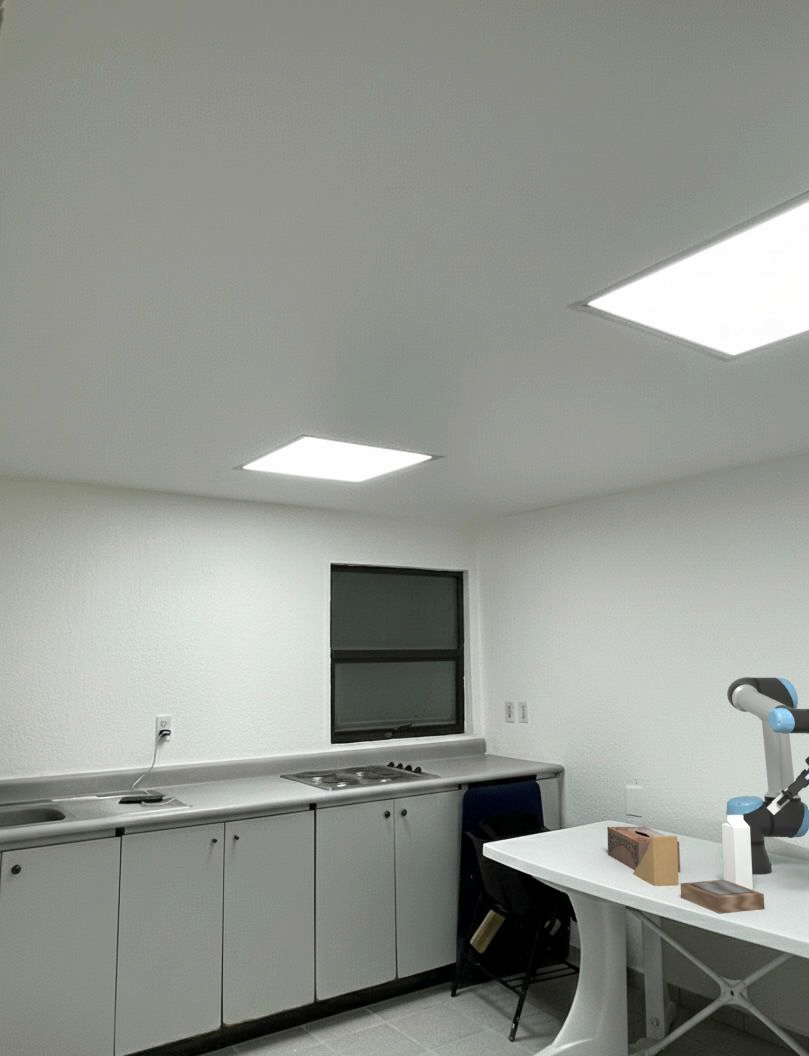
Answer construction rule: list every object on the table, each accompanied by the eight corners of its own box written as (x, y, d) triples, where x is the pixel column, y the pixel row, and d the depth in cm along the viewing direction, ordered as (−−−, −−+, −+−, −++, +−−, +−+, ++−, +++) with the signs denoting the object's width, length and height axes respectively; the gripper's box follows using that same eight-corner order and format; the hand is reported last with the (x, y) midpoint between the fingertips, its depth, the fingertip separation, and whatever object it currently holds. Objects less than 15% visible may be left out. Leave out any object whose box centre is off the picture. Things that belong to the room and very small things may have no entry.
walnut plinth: (724, 893, 244) (723, 878, 244) (764, 908, 229) (763, 892, 230) (681, 897, 238) (680, 882, 239) (719, 913, 223) (718, 897, 224)
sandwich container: (655, 873, 267) (654, 826, 269) (679, 885, 252) (677, 835, 254) (631, 874, 265) (630, 826, 268) (653, 886, 250) (652, 836, 253)
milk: (753, 891, 247) (750, 816, 251) (736, 892, 245) (733, 817, 249) (739, 885, 253) (737, 812, 256) (723, 886, 251) (721, 813, 255)
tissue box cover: (680, 873, 268) (679, 841, 270) (639, 874, 266) (638, 842, 268) (645, 855, 293) (644, 826, 295) (607, 855, 291) (607, 826, 293)
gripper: (832, 775, 230) (778, 824, 235) (836, 767, 251) (786, 812, 256) (810, 754, 234) (757, 803, 239) (816, 748, 255) (767, 793, 260)
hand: (772, 808), depth 247 cm, fingers open, 13 cm apart
